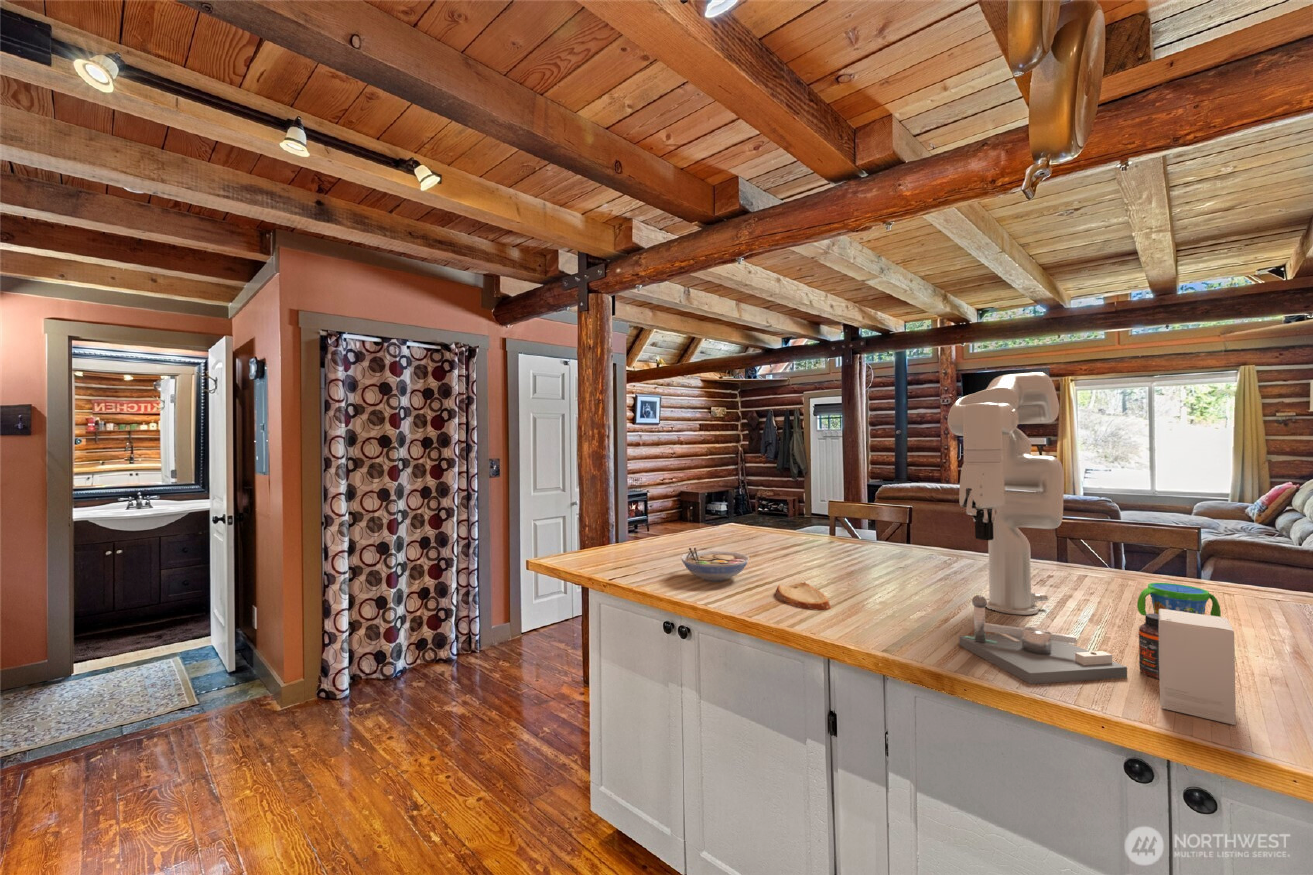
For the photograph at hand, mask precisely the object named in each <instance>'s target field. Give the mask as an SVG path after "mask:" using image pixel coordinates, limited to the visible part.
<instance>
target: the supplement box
mask: <svg viewBox="0 0 1313 875" xmlns="http://www.w3.org/2000/svg"><path fill="white" fill-rule="evenodd" d="M1235 650H1236V649H1235V630H1234V629H1233V627H1232V625H1231V623H1230V620H1229V619H1228V618H1227V617H1224V616H1223V617H1221V616H1220V617H1218V616H1211V615H1208V614H1204V615H1202V614H1195V613H1188V612H1182V611H1175V610H1168V609H1159V679H1158V681H1159V698H1160V708H1161V709H1164V710H1168V711H1173V712H1176V713H1181V714H1184V715H1190V716H1194V717H1198V718H1203V719H1206V720H1211V721H1216V722H1219V723H1224V724H1228V725H1232V726H1236V725H1237V722H1236V719H1237V718H1236V716H1237V715H1236V713H1237V711H1236V710H1237V709H1236V708H1237V707H1236V705H1237V704H1236V703H1237V702H1236V661H1235V659H1236V658H1235V657H1236V655H1235V654H1236V653H1235Z"/></svg>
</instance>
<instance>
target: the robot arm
mask: <svg viewBox="0 0 1313 875" xmlns="http://www.w3.org/2000/svg"><path fill="white" fill-rule="evenodd" d="M952 404H953V405H952V406H951V407H950V409H949V412H948V415H947V426H948V428H949V431H950V432H951V433H952V434H953V435H955V436H960V437H963V464H962V466H961V470H960V478H959V492H958V493H959V494H958V496H959V497H958V499H959V502H958V503H959V505H960V507H962V508H965V509H966V510H965V513H966V515H970V516H972V520H973V522H974V534H975V536H974V538H975V540H982V541H988V542H987V543H988V545H987V546H988V588H989V589H988V594H989V595H988V596H989V597H988V598H985V599H986V601H987V605H986V607H987V609H989V610H991V609H992V610H991V611H994V610H995V612H998V613H1003V614H1010V615H1019V616H1020V615H1021V616H1025V615H1027V616H1028V615H1036V614H1037V613H1039V606H1038V605H1036V603H1038V602H1047V601H1048V600H1049V597H1048V595H1047V594H1046V593H1037V594H1036V593H1035V592H1033V591H1032V573H1031V572H1032V570H1031V568H1032V567H1031V566H1032V565H1031V564H1032V563H1031V560H1032V559H1031V543H1030V542H1029V539H1028V538H1027V537H1026V535H1025V534H1023V532H1022V531H1021V530H1020V529H1019V528H1032V529H1042V530H1045V529H1046V530H1053V529H1057V528H1058V527H1060V526H1061V524H1062V522H1063V516H1064V493H1065V492H1064V490H1065V489H1064V488H1065V486H1064V484H1065V475H1064V467H1063V465H1062V462H1061V461H1060V460H1059V459H1058V458H1057V457H1056V456H1052V455H1032V454H1031V453H1032V442H1031V439H1030V438H1029V437H1028V436H1027V435H1026V434H1025V433H1024V432H1023V431H1022V430H1020V429H1019V428H1018V425H1020V424H1021V425H1023V424H1027V425H1030V424H1032V425H1033V424H1048V423H1053V422H1054V421H1055V420H1056V419H1057V418H1058V416H1059V413H1060V403H1059V399H1058V395H1057V391H1056V387H1055V384H1054V382H1053V380H1052V379H1051V377H1050V376H1049V375H1048V374H1047V373H1044V372H1041V371H1039V372H1038V371H1037V372H1024V373H1009V374H1003V375H999V376H997V377H994V378H993V379H992V380H991V381H990V382H989V384H988V386H987V387H986V388H985V389H983V390H980V391H977V392H975V393H971V394H968V395H965V396H961V397H960V398H959V399H958V398H957V400H956V401H955V402H954V403H952ZM986 607H985V608H986Z"/></svg>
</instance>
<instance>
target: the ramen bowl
mask: <svg viewBox="0 0 1313 875" xmlns="http://www.w3.org/2000/svg"><path fill="white" fill-rule="evenodd" d="M688 550H689V552H687V553H684V554H682V555H681V556H680V559H681V562H682V564H683V565H684V566H685V568H686V569H687V570H688V572H689V573H691V574H692V575H693V576H696V577H698V578H701V579H703V580H704V581H706V582H711V583H712V582H713V583H714V582H715V583H717V582H725V581H727V580H728V579H731V578H733V577H735V576H737V575H739V574H740V573H742V571H743V570H744V568H746V566H747V564H748V562H749V559H750V556H748V555H746V554H745V553H740V552H737V551H727V550H701V551H700V550H699V551H697V548H696V547H693V550H694V551H693V550H692V548H691V547H689V548H688Z"/></svg>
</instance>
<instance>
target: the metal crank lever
mask: <svg viewBox="0 0 1313 875" xmlns="http://www.w3.org/2000/svg"><path fill="white" fill-rule="evenodd" d="M986 599H987V598H985V597H984V596H982V595H980V594H977V595H976V594H975V595H974V596H973V597H972V599H971V603H972V605H973V613H974V614H973V615H974V618H973V619H974V620H973V622H974V623H973V624H974V635H975V640H976V641H979V642H985V641H986V640H985V635H986V632H988V633H993V634H999V633H1001V634H1007V635H1014V636H1021V637H1022V648H1024V649H1025V650H1028V651H1031V652H1035V653H1043V654H1046V653H1051V652H1052V651H1051V640H1053V641H1060V642H1067V643H1070V644H1073V645H1075V644H1077V636H1076V635H1071V634H1063V633H1057V632H1051V631H1048V630H1047V629H1043V628H1039V627H1031V626H1029V627H1028V626H1027V627H1026V626H1025V627H1018V626H1011V625H1003V624H996V623H990V622H989V623H988V622H986V605H987V601H986Z"/></svg>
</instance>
